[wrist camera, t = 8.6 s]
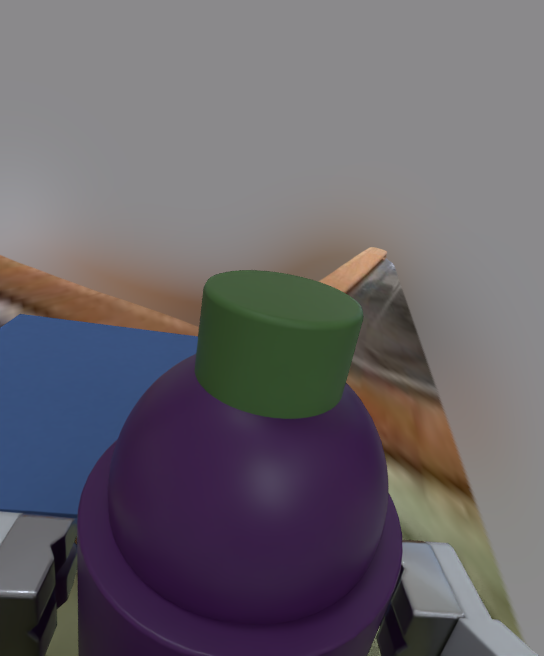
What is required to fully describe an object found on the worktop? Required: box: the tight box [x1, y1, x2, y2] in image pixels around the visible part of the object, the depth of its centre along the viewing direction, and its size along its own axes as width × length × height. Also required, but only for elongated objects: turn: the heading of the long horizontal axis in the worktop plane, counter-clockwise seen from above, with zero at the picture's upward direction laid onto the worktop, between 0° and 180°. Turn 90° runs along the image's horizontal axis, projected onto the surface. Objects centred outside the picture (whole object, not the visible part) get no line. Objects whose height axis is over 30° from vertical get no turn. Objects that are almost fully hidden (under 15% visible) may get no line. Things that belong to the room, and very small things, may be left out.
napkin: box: [0, 314, 198, 519], centre depth 24 cm, size 22×18×1 cm
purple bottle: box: [77, 270, 403, 656], centre depth 8 cm, size 5×5×12 cm
